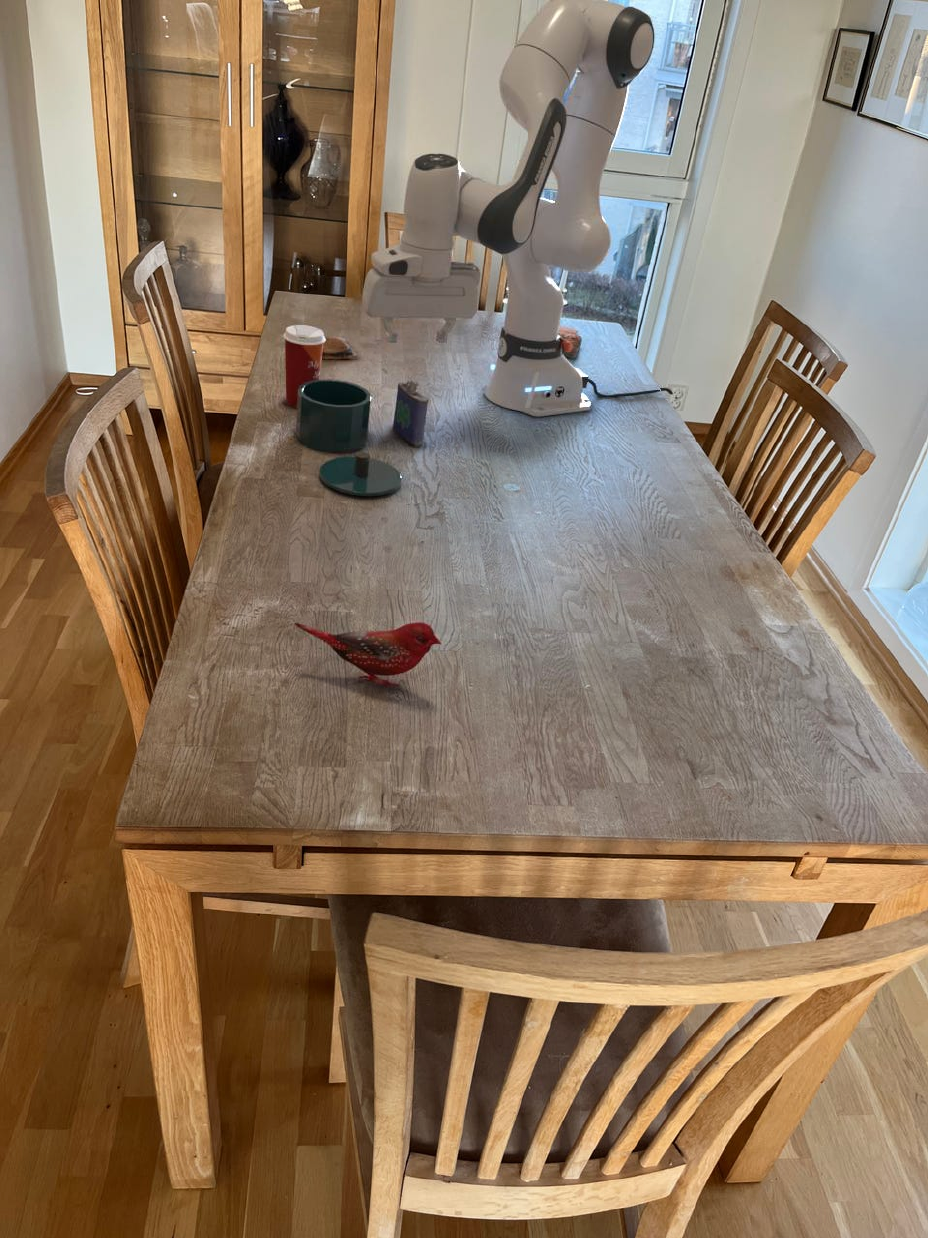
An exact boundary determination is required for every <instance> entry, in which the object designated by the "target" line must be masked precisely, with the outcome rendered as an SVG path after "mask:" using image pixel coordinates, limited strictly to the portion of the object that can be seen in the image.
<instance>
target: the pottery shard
mask: <svg viewBox="0 0 928 1238" xmlns="http://www.w3.org/2000/svg"><path fill="white" fill-rule="evenodd" d="M578 332H579V330H577V328H573V327H569V326H565V325H560V326H559V331H558V335H559V336H560V337H561V338H563V339H564V340H568V341H569V342H571V343H572V344H573V348H572V350H571V351H570V352H566V351H565V350H564V349H562V355H563V356H564V357H565V358H568V359H575V358H576V357H577V355H578V353H579V351H580V348H581V346H582V341H583V339H582V336H581V335H579V334H578ZM564 340H563V341H564Z"/></svg>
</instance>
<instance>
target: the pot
mask: <svg viewBox="0 0 928 1238" xmlns="http://www.w3.org/2000/svg"><path fill="white" fill-rule="evenodd" d="M371 405H372V394H371V392H370V391H369V390H368V389H367V388H365V387H363V386H361V385H359V384H357V383H353V382H351V381H346V380H340V379H334V378H333V379H331V378H330V379H321V378H319V380H313V381H308V382H306V383H304V384H302V385H300V387H299V389H298V400H297V408H296V419H295V420H296V423H295V435H296V439H297V440H298V442H299V443H300V444H302V445H304V446H306V447H308V448H310V449H313V450H316V451H319V452H325V453H334V454H343V453H344V454H345V453H352V452H356V451H358V450H361V449H363V448H364V447H365V446H366V445H367V443H368V437H369V429H370V428H369V427H370V416H371Z"/></svg>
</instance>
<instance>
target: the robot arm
mask: <svg viewBox="0 0 928 1238" xmlns="http://www.w3.org/2000/svg"><path fill="white" fill-rule="evenodd" d="M655 35H656V34H655V27H654V24H653V22H652V19H651V17H650V15H648V14H647V13H646V12H645V11H643V10H640V9H639V8H637V7H634V6H625V5H622V4H619V3H615V2H612V1H608V0H549V1H548V2H546V3H545V4H543V6H542V7H541V8H540V9H539V11H538V12H537V13H536V14H535V15H534V16H533V18H532V19H531V20H530V22H529V23H528V24H527V26H526V27H525V29H524V30H523V32H522V34H521V35H520V37H519V38H518V40H517V41H516V43H515V45H514V47H513V49H512V50H511V52H510V54H509V56H508V58H507V59H506V61H505V63H504V65H503V68H502V70H501V74H500V77H499V81H498V82H499V86H498V88H499V94H500V98H501V101H502V103H503V105H504V108H505V109H506V110H507V112H508V113H509V115H510V116H511V117H512V118H513V120H514V121H515V122H516V123H517V124H518V125H519V126H521V127H522V128H523V129H524V130H525V131H526V132H527V140H526V144H525V146H524V149H523V151H522V153H521V154H522V155H521V156H520V159H519V162H518V165H517V167H516V170H515V173H514V175H513V178H512V179H511V181H509V182H507V183H506V184H501V185H500V184H497V183H494V182H491V181H488V180H484V179H482V178H479V177H475V176H474V175H472V174H471V173H469V172H467V170H464V168H463V167H461V165H460V161H459V159H458V158H457V157H454V156H452V155H450V154H446V153H426V154H422V155H420V156H418V157H417V158H416V159H414V161H413V162H412V165H411V167H410V170H409V173H408V177H407V182H406V188H405V194H404V203H403V217H404V226H403V230H402V233H401V236H400V243H399V244H396V245H393V246H390V247H386V248H383V249H380V250H375V251H374V252H372V253H371V256H370V263H371V265H372V268H370V269H369V271H368V272H367V274H366V276H365V279H364V284H363V290H362V296H361V308H362V310H363V312H364V313H365V314H366V315H367V316H368V317H369V318H375V319H376V318H380V321H381V323H382V325H383V328H384V329H385V341H386V342H387V343H388V344H389V343H390V344H393V343H394V344H395V343H397V341H398V332H397V331H396V330H395V329H392V327H391V325H390V324H393V320H394V318H395V319H443V321H445V323H444V325H443V326H442V328H441V329H437V330H436V336H435V341H436V342H437V343H439V344H440V343H441V344H446V343H448V339H449V337H448V336H449V334H450V332H452V330H453V328H454V327H455V326H456V323H457V319H464V320H465V319H466V320H467V319H469V320H470V319H472V318H473V317H474V316H475V315H476V314H477V310H478V287H479V284H480V279H481V271H480V268H479V267H478V266H477V265H475V263H473V262H470V261H469V262H468V261H467V262H459V261H453V255H454V254H453V253H454V245H455V242H454V236H457V237H460V238H462V239H464V240H467V241H470V242H472V243H476V244H479V245H481V246H483V247H485V248H487V249H489V250H491V251H492V252H495V253H497V254H499V255H501V257H502V259H503V263H504V268H505V271H506V276H507V301H506V307H505V308H506V309H505V316H504V322H503V326H501V328H500V329H501V330H500V335H499V338H498V339H499V340H498V345H497V359H496V361H495V364H490V370H492V371H493V372H492V374H491V378H490V380H489V383H488V385H487V387H486V389H485V391H484V395H485V397H486V398H487V399H488V400H489V401H490V402H492V403H494V404H496V405H498V406H500V407H502V408H505V409H509V410H511V411H512V410H513V411H516V412H522V413H524V414H527V415H530V416H532V417H545V416H546V417H547V416H554V415H562V414H570V413H578V412H587V411H590V410H591V405H592V403H591V401H590V399H589V398H588V396H586V395H585V394H584V393H583V389H587V385H588V383H589V384H590V385H591V386H592V388H593V393H594V395H595V396H597V397H599V398H609V399H610V398H611V399H612V398H616V399H617V398H623V397H634V396H641V395H649V394H655V393H660V392H667V393H668V394H669V395H674V393H673V391H672V390H671V389H670V388H668V387H659V388H660V389H661V391H660V390H654V389H648V390H640V391H633V392H632V391H631V392H621V393H613V394H604V393H600V392H599V391H598V388H597V384H596V383H595V382H594V380H592V379H590V378H589V375H587V374H585V373H584V372H583V371H581V370H580V369H579V368H576V367H575V366H574V365H573V364H572V363H571V362H570V361H569V360H568V359H567V357H565V356H563V355H562V349H564V350H565V351H566V352H570V351H571V350H572V348H573V344H572V343H571V342H569V341H568V340H564V339H563V338H561V337H560V336H559V335H558V331H559V326H561V320H562V315H563V310H564V305H565V299H564V295H563V292H562V290H561V289H560V287H559V286H558V285H557V284H556V282H555V281H554V279H553V276H552V274H551V270H550V266H552V267H554V268H557V269H559V270H562V271H565V272H572V273H585V274H589V273H590V274H591V273H593V272H594V271H596V270H597V269H598V268H600V266H602V265H603V263H604V262H605V260H606V259H607V257H608V255H609V253H610V248H611V242H612V240H611V232H610V231H611V230H610V229H609V226H608V224H607V222H606V220H605V218H604V215H603V213H602V209H601V201H600V199H601V198H600V193H601V183H602V179H603V174H604V171H605V168H606V165H607V162H608V159H609V156H610V153H611V151H612V148H613V145H614V142H615V140H616V137H617V135H618V131H619V129H620V125H621V122H622V119H623V115H624V113H625V112H624V111H625V107H626V104H627V100H628V99H627V98H628V93H629V85H631V83H632V82H633V81H634V80H635V79H636V78H637V77H638V76H640V74H641V72H643V70H644V69H645V67H646V66H647V64H648V63H649V61H650V59H651V56H652V54H653V50H654V47H655V38H656V37H655ZM575 75H576V80H575V82H574V83H573V86H572V88H571V89H570V92H569V93H568V96H567V98H566V100H565V103H564V99H565V96H566V93H567V92H568V89H569V87H570V85H571V83H572V81H573V80H574V77H575ZM550 175H551V176H552V177H553V178H554V179H555V180H556V183H557V184H556V185H557V189H556V190H557V191H556V196H555V200H554V201H553V200H549V199H546V198H543V197H542V195H543V193H544V190H545V188H546V185H547V182H548V180H549V177H550ZM563 340H564V341H563Z"/></svg>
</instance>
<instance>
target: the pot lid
mask: <svg viewBox="0 0 928 1238" xmlns="http://www.w3.org/2000/svg"><path fill="white" fill-rule="evenodd" d="M319 478H320V480H321V481H322V482H323V484H325V485H326V486H327V487H329V488H331V489H333V490H335V491H337V492H341V493H343V494H347V495H350V496H351V495H353V496H357V497H358V496H359V497H378V496H384V495H387V494H390V493H392V492H395V491H396V490H398V489H399V488H400V486H401V484H402V481H403V480H402V479H403V477H402V475H401V473H400V471H399V470H398V469H397V468H396V467H394V466H393V465H391V464H390V463H387V462H386V461H382V460H379V459H375V458H372V457H371V454H370V453H368V452H366V451H357V452H355V454H354V455H353V456H340V457H335V458H332V459H329V460H327V461H326V462H324V463H323V464H321V466H320V468H319Z"/></svg>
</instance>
